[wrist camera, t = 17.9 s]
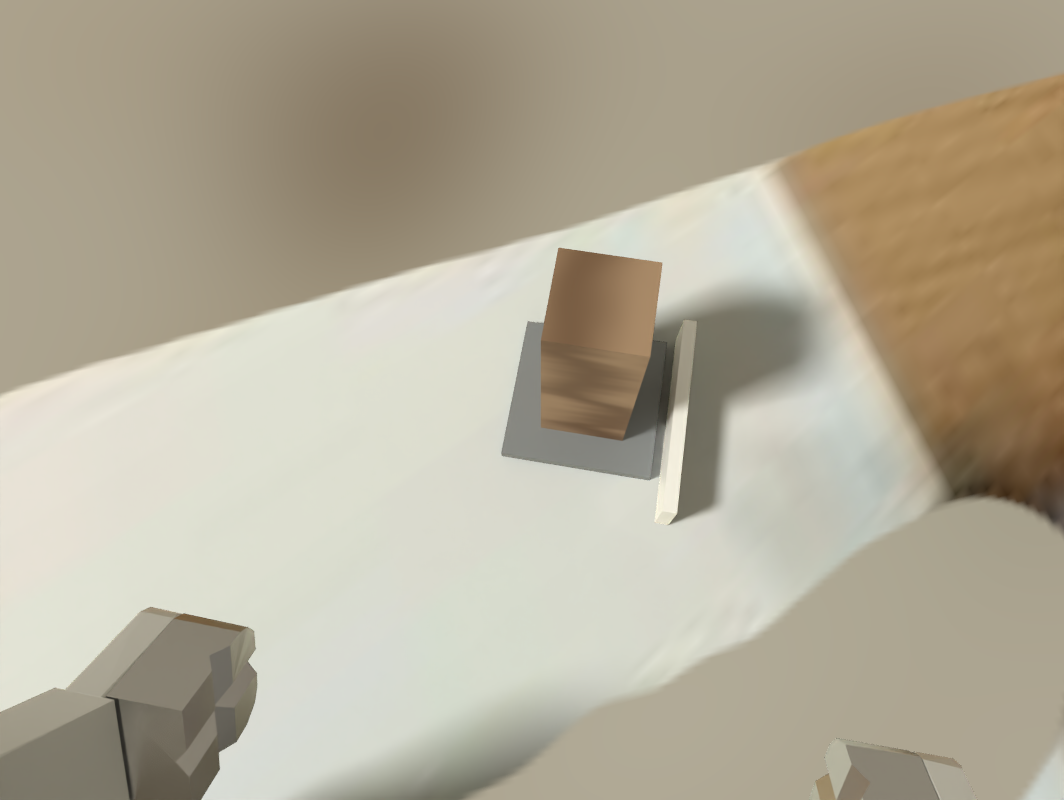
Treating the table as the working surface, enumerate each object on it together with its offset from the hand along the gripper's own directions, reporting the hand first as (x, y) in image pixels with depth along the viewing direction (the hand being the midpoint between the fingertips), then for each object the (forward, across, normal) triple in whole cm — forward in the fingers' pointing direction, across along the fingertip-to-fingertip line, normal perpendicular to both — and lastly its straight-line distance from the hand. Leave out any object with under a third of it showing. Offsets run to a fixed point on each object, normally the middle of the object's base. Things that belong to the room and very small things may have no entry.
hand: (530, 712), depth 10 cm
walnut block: (+34, 0, +10) cm, 35 cm away
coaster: (+34, 0, +10) cm, 36 cm away
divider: (+34, -6, +11) cm, 36 cm away
